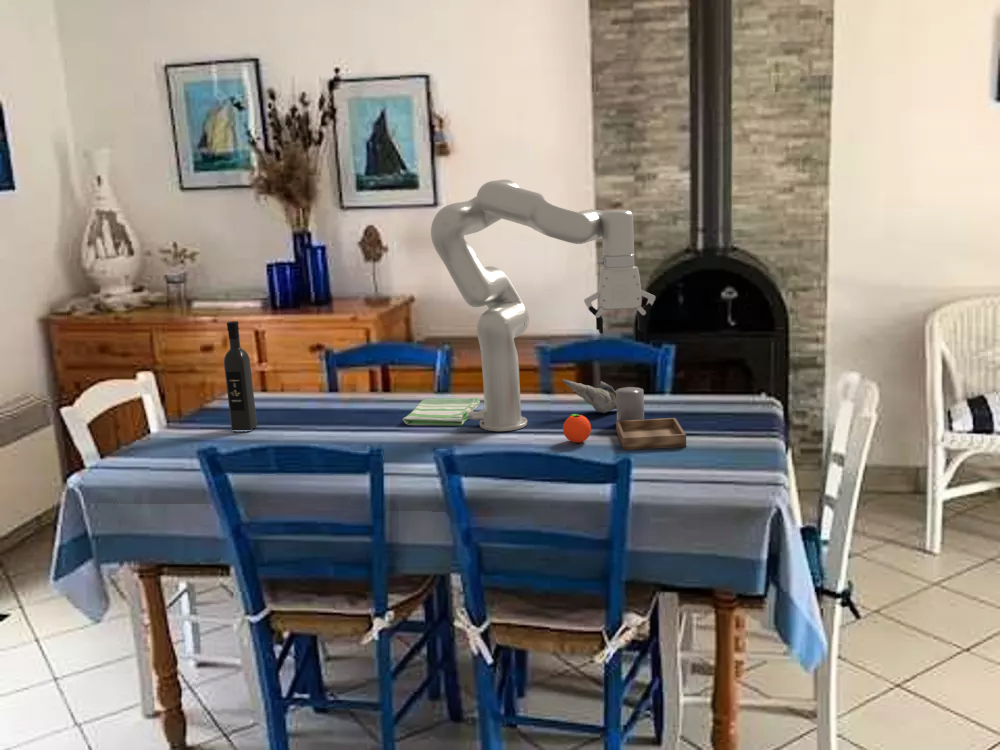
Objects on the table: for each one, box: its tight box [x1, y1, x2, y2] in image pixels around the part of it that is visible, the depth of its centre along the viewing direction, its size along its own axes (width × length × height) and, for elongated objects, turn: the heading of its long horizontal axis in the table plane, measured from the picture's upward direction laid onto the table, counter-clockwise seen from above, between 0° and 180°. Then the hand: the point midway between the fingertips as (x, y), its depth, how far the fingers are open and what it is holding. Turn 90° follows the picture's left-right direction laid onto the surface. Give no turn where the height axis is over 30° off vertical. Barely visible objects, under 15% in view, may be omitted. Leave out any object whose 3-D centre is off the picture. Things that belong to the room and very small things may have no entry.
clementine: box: [562, 413, 592, 444], centre depth 253 cm, size 8×7×7 cm
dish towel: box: [402, 397, 481, 426], centre depth 286 cm, size 18×23×3 cm
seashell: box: [561, 378, 617, 414], centre depth 279 cm, size 10×17×10 cm, turn 80°
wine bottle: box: [223, 320, 258, 431], centre depth 278 cm, size 6×6×30 cm
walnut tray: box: [615, 417, 687, 451], centre depth 252 cm, size 15×15×3 cm
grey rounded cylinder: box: [615, 386, 645, 421], centre depth 265 cm, size 7×7×9 cm
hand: (620, 331), depth 252 cm, fingers open, 9 cm apart
